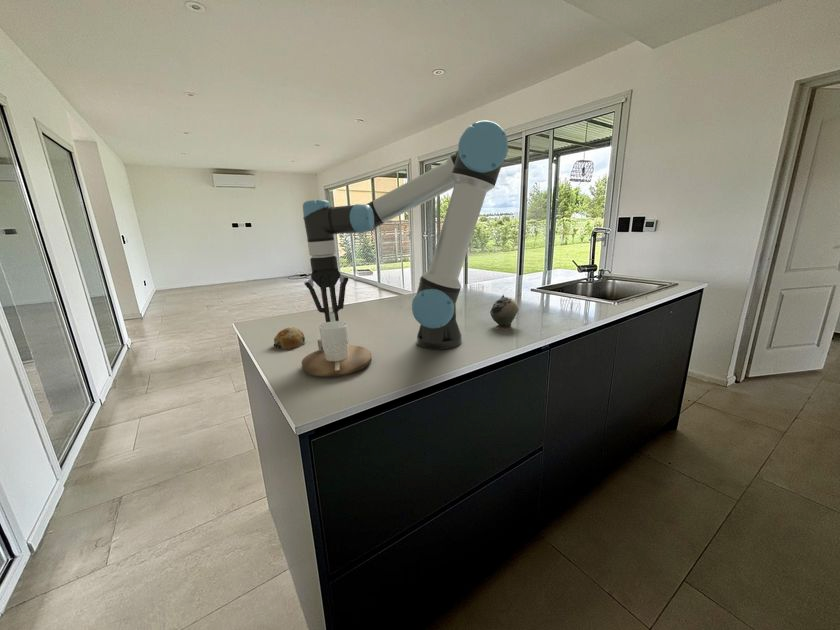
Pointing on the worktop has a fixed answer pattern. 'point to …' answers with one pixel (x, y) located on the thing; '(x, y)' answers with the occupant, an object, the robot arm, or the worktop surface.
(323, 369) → the turntable
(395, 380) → the worktop surface
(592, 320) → the worktop surface
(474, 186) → the robot arm
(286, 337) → the bread roll
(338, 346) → the white cup
